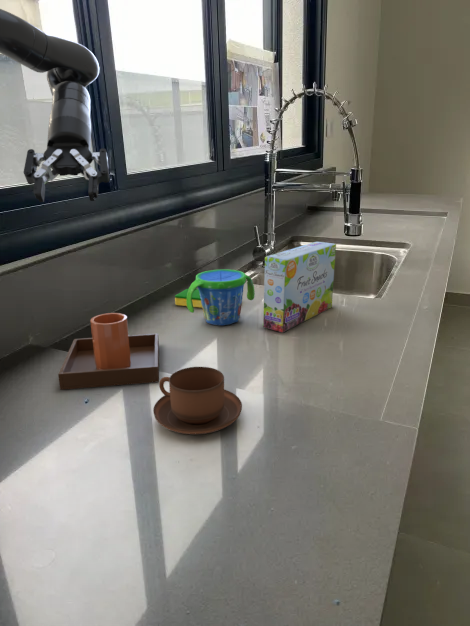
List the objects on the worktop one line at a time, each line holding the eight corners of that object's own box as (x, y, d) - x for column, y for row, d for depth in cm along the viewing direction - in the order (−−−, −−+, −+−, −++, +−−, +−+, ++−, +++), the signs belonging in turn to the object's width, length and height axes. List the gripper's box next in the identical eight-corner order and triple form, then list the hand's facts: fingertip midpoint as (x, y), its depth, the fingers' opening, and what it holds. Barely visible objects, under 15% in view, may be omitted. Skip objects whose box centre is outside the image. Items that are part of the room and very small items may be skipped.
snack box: (285, 334, 98) (286, 259, 94) (262, 328, 102) (262, 256, 97) (334, 307, 114) (337, 242, 110) (312, 303, 118) (314, 239, 113)
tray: (60, 389, 77) (57, 374, 76) (75, 352, 91) (74, 338, 90) (158, 382, 79) (157, 366, 78) (159, 346, 93) (158, 333, 92)
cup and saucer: (142, 440, 63) (138, 397, 61) (167, 396, 74) (165, 358, 72) (235, 446, 62) (234, 401, 60) (246, 399, 73) (246, 361, 71)
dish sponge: (188, 297, 124) (187, 287, 123) (239, 302, 119) (239, 292, 119) (174, 305, 118) (174, 295, 117) (228, 311, 113) (228, 300, 112)
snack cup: (197, 334, 99) (194, 285, 96) (179, 319, 108) (176, 274, 105) (265, 322, 105) (265, 275, 102) (243, 308, 114) (243, 265, 111)
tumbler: (94, 374, 81) (88, 325, 78) (98, 360, 86) (93, 314, 84) (130, 371, 82) (125, 323, 79) (132, 357, 87) (127, 311, 85)
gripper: (24, 114, 89) (16, 184, 81) (106, 114, 90) (105, 182, 83) (35, 146, 95) (29, 213, 88) (111, 145, 97) (111, 211, 90)
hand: (66, 198), depth 86 cm, fingers open, 8 cm apart
